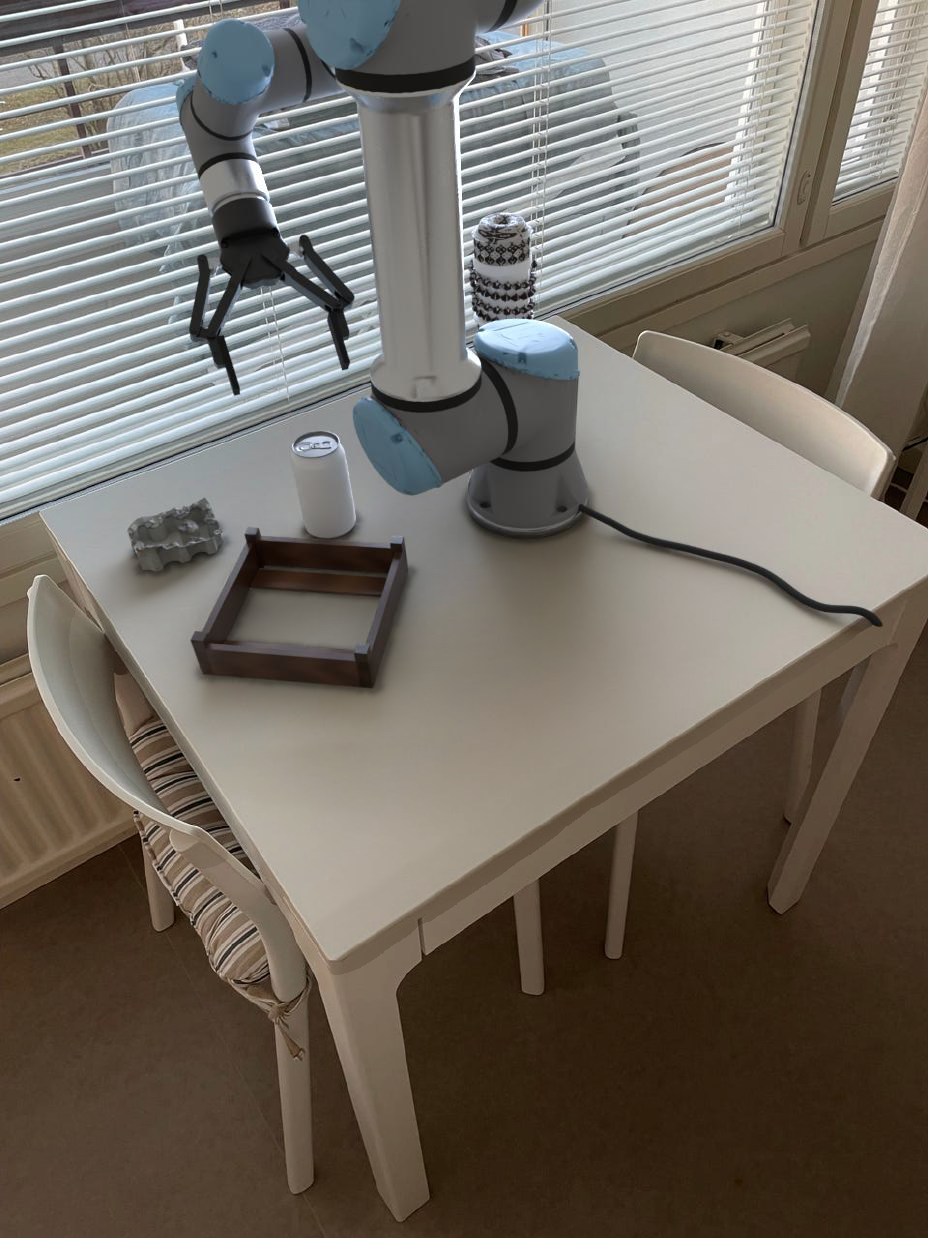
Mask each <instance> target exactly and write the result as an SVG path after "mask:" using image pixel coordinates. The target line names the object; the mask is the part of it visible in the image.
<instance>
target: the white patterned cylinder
mask: <svg viewBox="0 0 928 1238" xmlns="http://www.w3.org/2000/svg"><path fill="white" fill-rule="evenodd" d="M533 233H534V229H533V227H532V225H530V224H528V223H527V222H526V221H525V219H524V218H523V216H521V215H518V214H516V213H511V212H495V213H492V214H488V215H486V216H484V217H483V218H482V219H480V221H479V223H478V225H477V226H476V225H475V227H473V228H472V231H470V234H471V236H472V240H473V243H472V244H473V254H472V258H471V259H470V260H469V261H470V262H469V263H470V264H468V267H467V270H468V271H469V277H468V280H469V281H470V282H469V285H470V287H471V288H472V289H471V290H470V296H471V306H472V308H471V309H472V312H474V313H473V316H472V319H473V320H474V323H475V324H476V331H477V330H478V329H479V328H481V327H482V326H483V325H485V324H487V323H490V322H493V321H497V320H503V319H530V320H534V316H535V312H534V311H533V310H534V308H535V306H536V302H535V301H534V299H533V298H532V297H533V296H535V293H536V292H537V289H536V287H535V283H536V281H537V279H538V277H537V276H536V275H535V274H534V273H533V272H531V270H534V269H536V268H537V267H538V262H537V261H536V258H533V252H532V250H531V246H532V245H531V242H532V240H531V236H533Z"/></svg>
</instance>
